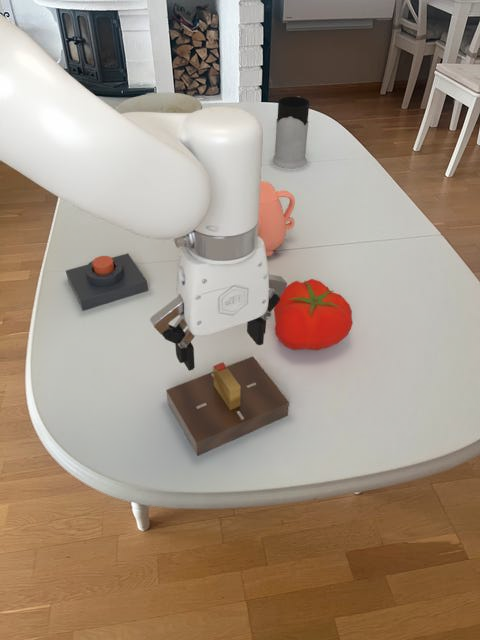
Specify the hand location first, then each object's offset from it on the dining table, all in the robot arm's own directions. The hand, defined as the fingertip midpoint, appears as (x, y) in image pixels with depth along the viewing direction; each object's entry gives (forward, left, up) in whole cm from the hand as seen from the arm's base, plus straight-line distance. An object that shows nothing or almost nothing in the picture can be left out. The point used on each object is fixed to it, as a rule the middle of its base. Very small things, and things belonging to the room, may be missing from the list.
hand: (221, 350), depth 66 cm
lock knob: (+1, 0, -9) cm, 9 cm away
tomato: (+20, +7, -12) cm, 24 cm away
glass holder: (+55, +67, -12) cm, 87 cm away
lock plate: (+1, 0, -12) cm, 12 cm away
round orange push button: (-5, +36, -8) cm, 37 cm away
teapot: (+24, +37, -12) cm, 45 cm away
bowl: (+28, +92, -12) cm, 97 cm away
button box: (-5, +36, -12) cm, 38 cm away
